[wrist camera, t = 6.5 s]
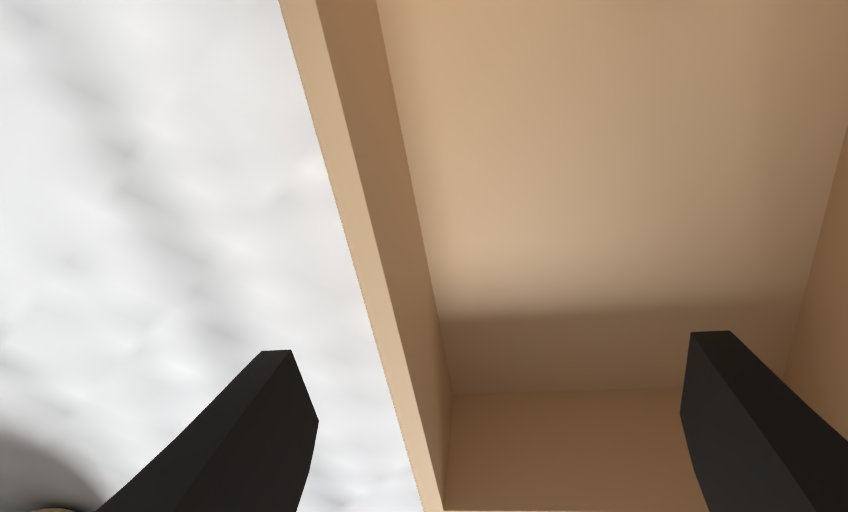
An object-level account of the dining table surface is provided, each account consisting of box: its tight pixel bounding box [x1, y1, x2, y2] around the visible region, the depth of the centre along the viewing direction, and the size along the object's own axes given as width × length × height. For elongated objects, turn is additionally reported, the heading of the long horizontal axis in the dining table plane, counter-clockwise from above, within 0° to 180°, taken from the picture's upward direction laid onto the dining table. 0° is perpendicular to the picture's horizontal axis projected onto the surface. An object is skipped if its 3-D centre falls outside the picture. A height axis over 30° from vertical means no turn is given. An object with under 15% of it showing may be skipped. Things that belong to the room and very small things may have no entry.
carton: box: [278, 0, 848, 512], centre depth 13 cm, size 16×12×5 cm
